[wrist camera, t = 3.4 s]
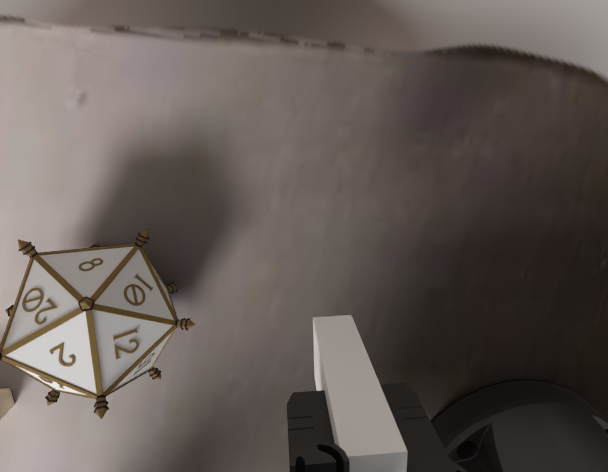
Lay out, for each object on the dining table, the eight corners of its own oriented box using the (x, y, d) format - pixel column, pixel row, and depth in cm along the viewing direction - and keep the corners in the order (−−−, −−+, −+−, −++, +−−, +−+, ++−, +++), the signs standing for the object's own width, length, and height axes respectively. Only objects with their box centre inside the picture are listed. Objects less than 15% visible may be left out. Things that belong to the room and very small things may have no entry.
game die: (120, 276, 27) (-76, 338, 18) (159, 182, 22) (-76, 208, 14) (197, 380, 24) (12, 503, 16) (259, 297, 20) (45, 411, 12)
